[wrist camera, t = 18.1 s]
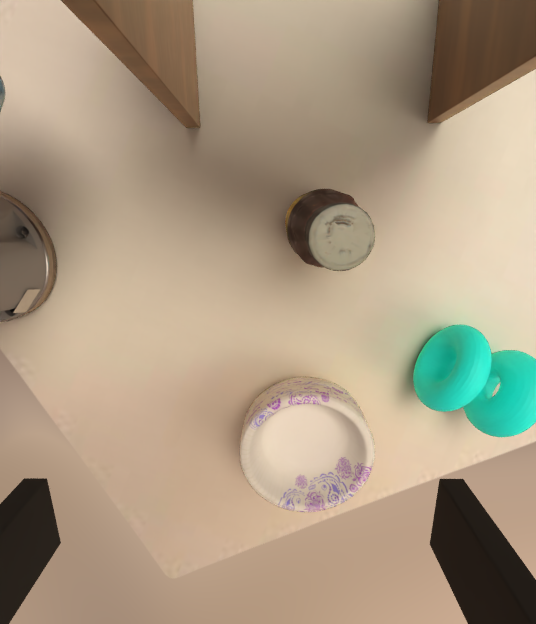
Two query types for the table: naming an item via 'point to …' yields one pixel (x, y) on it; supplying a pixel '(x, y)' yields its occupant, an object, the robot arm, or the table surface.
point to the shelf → (446, 64)
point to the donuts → (477, 381)
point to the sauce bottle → (329, 230)
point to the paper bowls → (306, 445)
